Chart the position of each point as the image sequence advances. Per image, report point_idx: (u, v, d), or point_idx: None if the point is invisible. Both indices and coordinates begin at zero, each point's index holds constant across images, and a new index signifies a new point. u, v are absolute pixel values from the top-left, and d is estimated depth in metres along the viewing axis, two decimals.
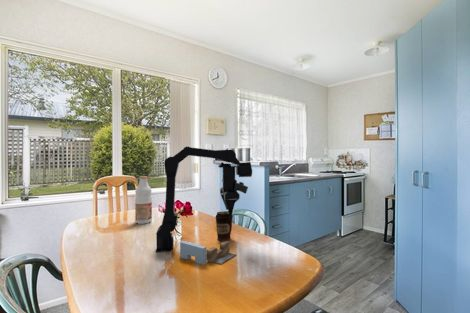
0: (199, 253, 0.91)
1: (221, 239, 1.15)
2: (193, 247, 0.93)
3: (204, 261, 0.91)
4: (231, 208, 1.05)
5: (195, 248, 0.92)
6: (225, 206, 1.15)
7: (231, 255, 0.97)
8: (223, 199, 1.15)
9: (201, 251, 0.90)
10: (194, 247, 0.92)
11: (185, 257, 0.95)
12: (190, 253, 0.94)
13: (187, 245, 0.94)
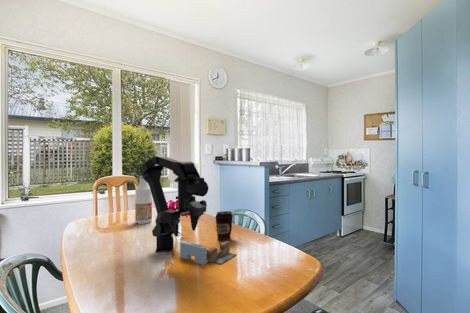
0: (199, 253, 0.91)
1: (221, 239, 1.15)
2: (193, 247, 0.93)
3: (204, 261, 0.91)
4: (174, 230, 0.92)
5: (195, 248, 0.92)
6: None
7: (231, 255, 0.97)
8: (190, 217, 1.02)
9: (201, 251, 0.90)
10: (194, 247, 0.92)
11: (185, 257, 0.95)
12: (190, 253, 0.94)
13: (187, 245, 0.94)
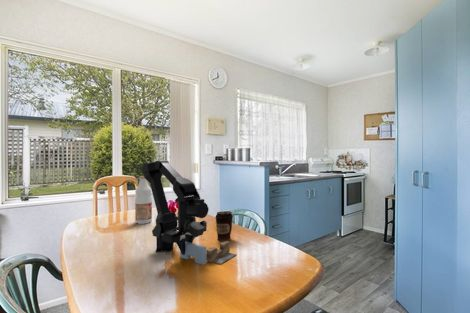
0: (199, 253, 0.91)
1: (221, 239, 1.15)
2: (193, 247, 0.93)
3: (204, 261, 0.91)
4: (181, 248, 0.95)
5: (195, 248, 0.92)
6: None
7: (231, 255, 0.97)
8: None
9: (201, 251, 0.90)
10: (194, 247, 0.92)
11: (185, 257, 0.95)
12: (190, 253, 0.94)
13: (187, 245, 0.94)
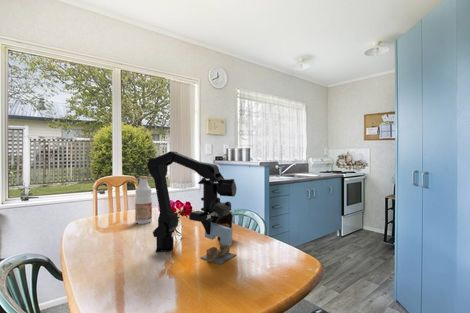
0: (225, 234, 0.94)
1: None
2: (219, 228, 0.95)
3: (230, 242, 0.94)
4: (207, 228, 0.97)
5: (221, 229, 0.95)
6: None
7: (231, 255, 0.97)
8: None
9: (228, 233, 0.93)
10: (220, 228, 0.95)
11: (210, 237, 0.98)
12: (216, 234, 0.96)
13: (213, 226, 0.97)
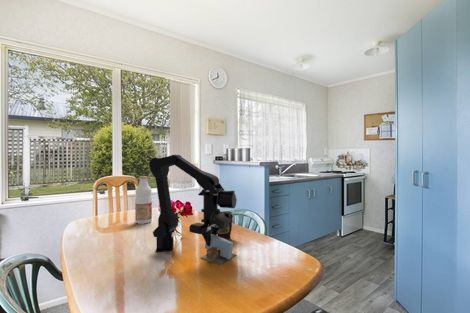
0: (225, 247, 0.94)
1: None
2: (219, 240, 0.95)
3: (230, 256, 0.94)
4: (207, 240, 0.97)
5: (221, 242, 0.95)
6: None
7: None
8: None
9: (228, 246, 0.93)
10: (221, 241, 0.95)
11: None
12: (216, 246, 0.96)
13: (213, 238, 0.97)
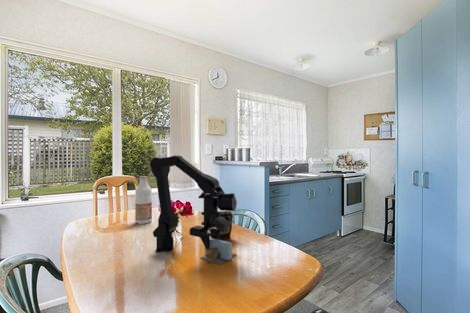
0: (225, 248, 0.94)
1: (221, 239, 1.15)
2: (218, 243, 0.96)
3: (230, 256, 0.94)
4: (206, 243, 0.97)
5: (220, 244, 0.95)
6: None
7: None
8: (210, 233, 1.02)
9: (227, 247, 0.93)
10: (220, 243, 0.95)
11: None
12: None
13: (212, 241, 0.97)
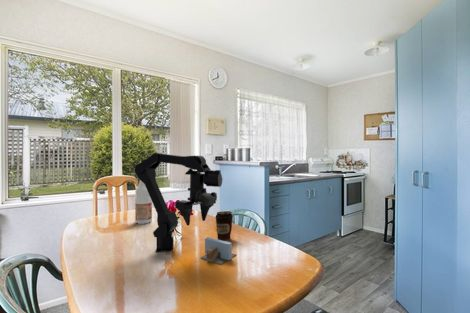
0: (225, 248, 0.94)
1: (221, 239, 1.15)
2: (218, 243, 0.96)
3: (230, 256, 0.94)
4: (186, 219, 0.98)
5: (220, 244, 0.95)
6: None
7: None
8: (201, 208, 1.07)
9: (227, 247, 0.93)
10: (220, 243, 0.95)
11: None
12: None
13: (212, 241, 0.97)
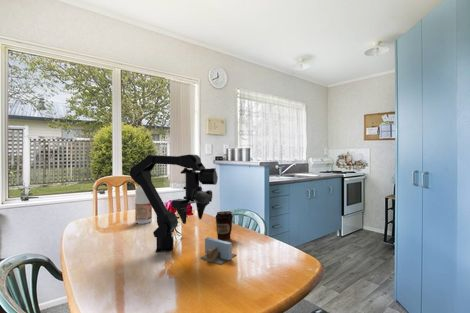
0: (225, 248, 0.94)
1: (221, 239, 1.15)
2: (218, 243, 0.96)
3: (230, 256, 0.94)
4: (183, 217, 0.98)
5: (220, 244, 0.95)
6: (198, 215, 1.07)
7: None
8: (197, 207, 1.08)
9: (227, 247, 0.93)
10: (220, 243, 0.95)
11: None
12: None
13: (212, 241, 0.97)
